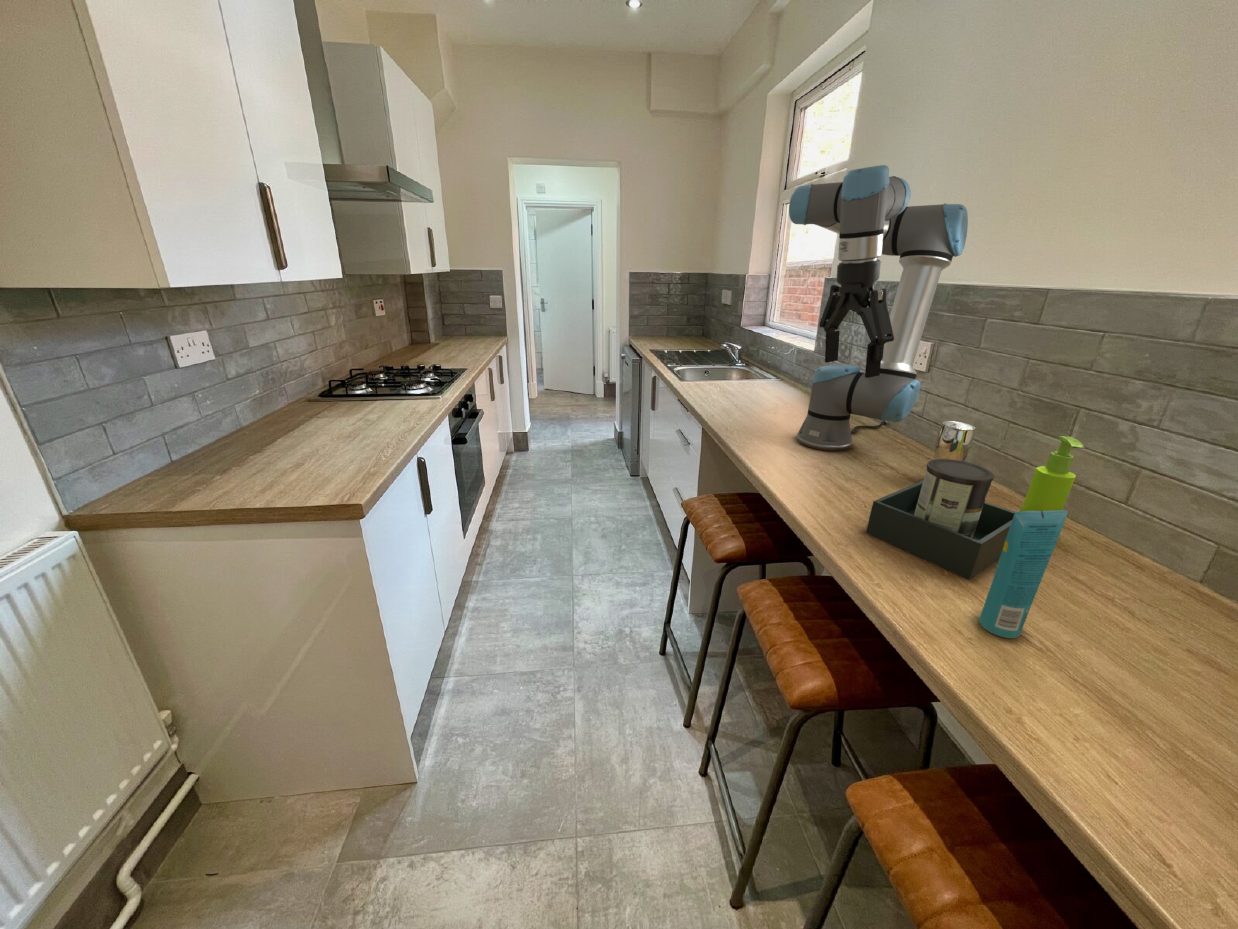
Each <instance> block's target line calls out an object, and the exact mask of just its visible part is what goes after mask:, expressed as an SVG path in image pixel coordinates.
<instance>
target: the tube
mask: <svg viewBox="0 0 1238 929" xmlns="http://www.w3.org/2000/svg"><path fill="white" fill-rule="evenodd" d="M1014 512H1015V514H1014V517H1013V520H1012V523H1011V526H1010V529H1009V532H1008V535H1007V538H1006V541H1005V544H1004V547H1003V550H1002V553H1001V556H1000V558H999V559H998V563H997V566H996V569H995V572H994V574H993V578H992V581H991V584H990V586H989V590H988V593H987V595H986V598H985V602H984V603H983V606H982V610H981V613H980V615H979V619H978V622H979V625H980V626H981V627H982V628H983V629H984V630H986V631H988V632H989V633H991V634H993V635H996V636H998V637H1001V638H1005V639H1016V638H1018V637H1020V635H1021V632H1022V630H1023V627H1024V625H1025V623H1026V621H1027V618H1028V615H1029V612H1030V609H1031V607H1032V605H1033V602H1034V600H1035V597H1036V595H1037V593H1038V590H1039V587H1040V585H1041V583H1042V580H1043V577H1044V575H1045V573H1046V569H1047V568H1048V565H1049V562H1050V560H1051V558H1052V555H1053V552H1054V550H1055V547H1056V545H1057V542H1058V540H1059V538H1060V536H1061V532H1062V530H1063V528H1064V525H1065V522H1066V520H1067V517H1068V510H1066V509H1065V510H1064V509H1063V510H1062V511H1059V510H1058V511H1021V510H1020V511H1017V510H1016V511H1014Z"/></svg>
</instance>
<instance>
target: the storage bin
mask: <svg viewBox="0 0 1238 929" xmlns="http://www.w3.org/2000/svg"><path fill="white" fill-rule="evenodd" d="M922 484H923V480H920V481H918V482H915V483H913V484H911V485H908V486H906V487H903V488H901V489H899V490H896V491H894V492H892V493H889V494H886V495H885V496H883V497H880V498H877V499H875V500H873V502H872V505H871V509H870V514H869V518H868V522H867V526H866V531H865V533H866V534H868V535H870V536H872V537H875V538H877V539H879V540H882V541H884V542H885V543H888V544H890V545H892V546H894V547H897V548H899V549H902V550H903V551H906V552H907V553H909V554H912V555H914V556H916V557H919V558H920V559H923V560H925V561H927V562H929V563H932V564H934V565H936V566H939V567H941V568H943V569H945V570H947V571H950V572H952V573H953V574H956V575H958V576H960V577H962V578H965V579H967V580H971V579H972V578H973V577H975V576H976V575H978V574H980V572H982V571H984V570H985V569H987V568H988V567H989V566H990V565H992V564H994V563H995V562H996V561H999V559H1000V556H1001V553H1002V550H1003V547H1004V544H1005V541H1006V538H1007V535H1008V532H1009V529H1010V526H1011V523H1012V520H1013V517H1014V514H1015V512H1016V511H1014V510H1011V509H1008V508H1005V507H1001V506H998V505H995V504H993V503H990V502H986V501H985V502H984V505H983V508H982V511H981V514H980V517H979V520H978V524H977V527H976V530H975V533H974V536H973V538H970V537H967V536H965V535H962V534H960V533H957V532H955V531H952V530H950V529H947V528H945V527H942V526H940V525H937V524H935V523H932V522H930V521H927V520H924V519H922V518H919V517H917V516H914V513H915V510H916V506H917V502H918V499H919V495H920V491H921V488H922Z"/></svg>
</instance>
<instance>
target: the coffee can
mask: <svg viewBox="0 0 1238 929" xmlns="http://www.w3.org/2000/svg"><path fill="white" fill-rule="evenodd" d="M994 479H995V474H994V473H993V472H992V471H991V470H989V469H988V468H986V467H983V466H980V465H978V464H976V463H972V462H968V461H965V460H964V461H958V460H951V459H930V460H929V461H927V462H926V469H925V472H924V477H923V480H922V481H923V484H922V488H921V491H920V495H919V499H918V502H917V506H916V510H915V513H914V516H917V517H919V518H922V519H924V520H927V521H930V522H932V523H935V524H937V525H940V526H942V527H945V528H947V529H950V530H952V531H955V532H957V533H960V534H962V535H965V536H967V537H970V538H973V536H974V533H975V530H976V527H977V524H978V520H979V517H980V514H981V511H982V508H983V505H984V502H986V500H987V497H988V494H989V490H990V487H991V484H992V482H993V480H994Z"/></svg>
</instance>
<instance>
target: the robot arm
mask: <svg viewBox="0 0 1238 929" xmlns="http://www.w3.org/2000/svg"><path fill="white" fill-rule="evenodd" d="M911 193H912V192H911V187H910V184H909V183H908V182H907V181H906V180H905V179H904V178H902V177H899V176H897V175H896V176H895V175H892V176H890V167H889V166H888V165H886V164H880V165H873V166H868V167H867V166H866V167H862V168H856V169H851V170H848V171H847V172H845V174H844V176H843V179H842V181H839V182H825V183H816V184H814V183H810V184H806V185H800V186H798V187H796V188H795V189H794V190H793V192H792V194H791V196H790V198H789V204H788V215H789V216H788V217H789V220H790V221H791V223H792V224H794V225H803V226H807V225H815V226H818V227H821V228H823V229H825V230H828V231H831V232H833V233H836V234H837V235H839V236H838V238H839V239H838V240H839V241H838V252H837V254H838V255H837V256H838V257H837V260H839V261H840V262H839V263H838V264H837V267H836V283H837V284H831V285H830V287H829V295H828V299H827V301H826V304H825V307H824V310H823V313H822V315H821V318H820V320H819V323H818V324H819V325H818V326H819V327H820V328H823V332H825V340H824V344H825V348H824V349H825V352H824V363H827V364H828V363H832V362H837V361H839V350H840V348H839V347H840V336H841V335H840V332H841V331H840V329H841V328H840V326H841V324H842V322H843V320H845V318H846V316H847V315H848V313H849V312H850V311H851V312H853V313H856V315H858V316H859V317H860V319H861V321H862V323H863V324H862V325H863V326H864V329H865V331H866V333H867V336H868V338H869V341H870V342H869V343H868V344H867V348H866V349H867V350H866V358H865V370H864V372H861V367H860V365H855V364H830V365H824V366H823V365H822V366H819V367H818V368H817V369H816V370H815V371H814V375H813V381H811V390H810V395H809V402H808V409H807V414H806V417H805V418H804V420H803V422H802V424H801V426H800V427H799V430H798V432H797V436H796V441H797V443H799V444H800V445H803V446H805V447H808V448H811V449H814V450H819V451H826V452H841V451H847V450H850V449H851V447H852V443H853V437H852V434H856V433H857V432H858V429H879V428H881V427H882V426H883V425H885V426H886V425H887V424H888V423H887V422H892V423H898V422H899V423H900V422H902V421H903V420H905V419H906V418H907V417H908V415H909V414H910V413H911V411H912V410H913V408H914V406H915V404H916V402H917V400H918V398H919V395H920V390H921V387H922V383H921V381H919V380H918V379H917V375H918V373H917V371H916V370H915V368H914V362H915V359H916V356H917V353H918V351H919V350H918V349H919V346H920V344H921V340H922V337H923V334H924V333H923V332H924V329H925V326H926V323H927V320H928V318H929V313H930V310H931V306H932V304H933V300H934V297H935V294H936V290H937V288H938V284H939V281H940V277H941V274H942V271H943V270H945V269H946V268H948V267H949V266H951V263H952V260H953V258H956V257H959V256H961V255H962V254H963V252H964V250H965V246H966V242H967V237H968V236H967V235H968V226H969V217H968V215H969V214H968V209H967V207H966V206H965V205H963V204H961V203H943V204H928V205H926V204H925V205H910V206H908V205H909V203H910V200H911V197H912V196H911ZM882 255H883V256H891V257H893V256H895V257H899V260H898V263H899V264H900V266H901V267H902V272H901V276H900V279H899V282H898V286H897V289H896V293H895V296H894V301H893V303H892V306H891V310H890V311H889V307H888V302H887V289H886V288H879V289H875V287H874V284H875V282H876V281H878V280H879V279H880V273H881V263H882V261H881V260H880V259H878V258H880V257H881V256H882ZM889 312H890V313H889ZM851 415H855V416H860V417H864V418H870V419H874V420H878V421H881V422H880V423H879V424H878V425H856V426H854V428H853V430H852V429H851V422H850V418H851Z"/></svg>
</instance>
